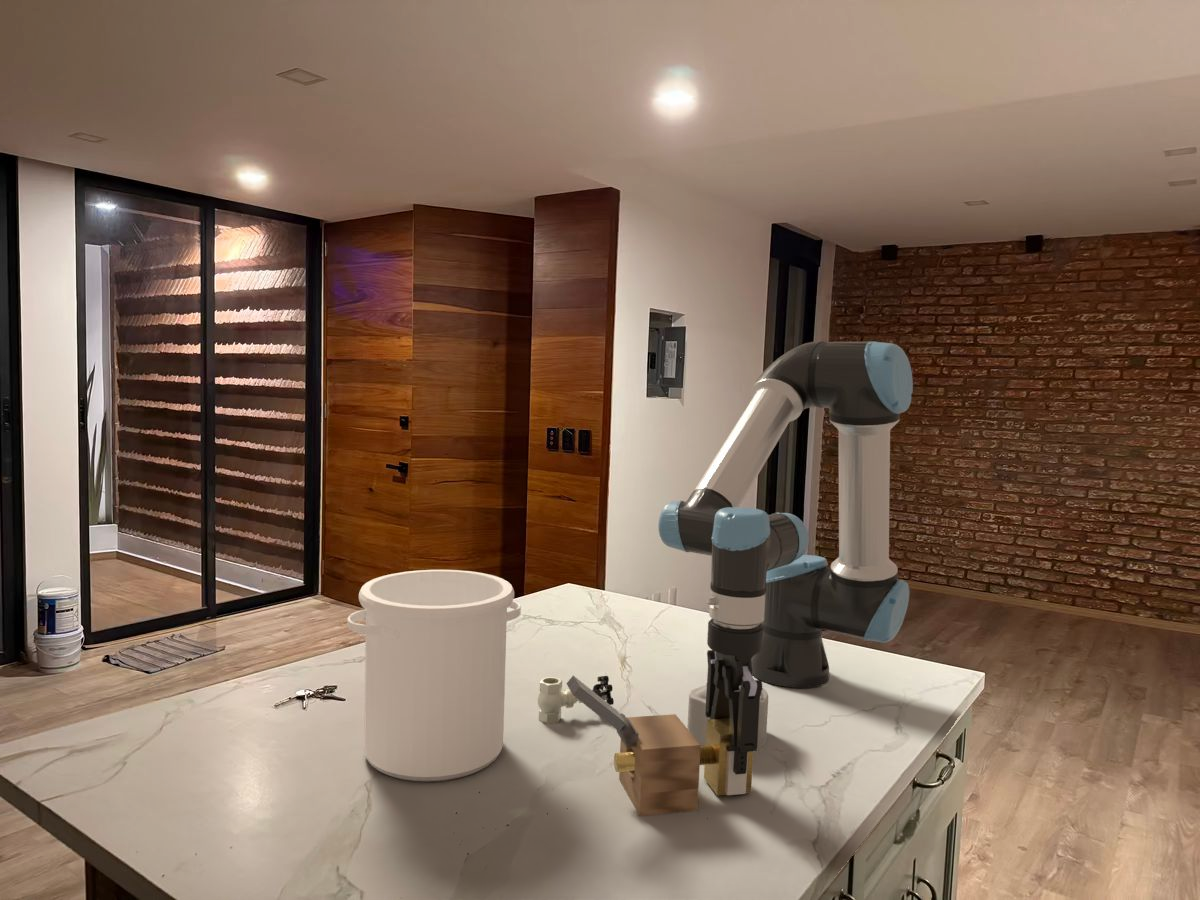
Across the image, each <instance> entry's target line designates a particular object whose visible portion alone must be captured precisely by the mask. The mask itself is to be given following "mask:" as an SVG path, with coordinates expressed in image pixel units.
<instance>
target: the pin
mask: <svg viewBox="0 0 1200 900" xmlns="http://www.w3.org/2000/svg"><path fill="white" fill-rule="evenodd" d="M726 746H731V736H730V718H723V719H709V720H707V728H706V746H701V748H700V766H704V768H703V769H704V770H703V779H704V780H705V782H706V783H707V784H708V786H709V787H710V788H711V789H712V791H713V792H714V794H715V795H716V796H728V795H727V794H726V793H725V786H726V767H727V750H726ZM753 761H754V751H750V752H748V761H747V778H746V794H747V793H752V782H753V765H754V762H753ZM613 765H614V771H615V772H616V773H619V772H624V771H634V770H635V753H634V752H624V753H620V752H616V753H614V756H613Z"/></svg>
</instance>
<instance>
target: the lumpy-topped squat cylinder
mask: <svg viewBox="0 0 1200 900" xmlns="http://www.w3.org/2000/svg"><path fill="white" fill-rule="evenodd" d="M738 691H740V690H737V691H735V692H738ZM706 693H707V682H706V684H705V685H702V686H700V687H697V688H694V689H692V690H690V692H689V695H688V709H687V725H686V726H687V727H686V728H687V729H688V730H689V731H690V733H691V734H692V735H693V736H694V738H695V739H696V740H697V741H698V742H699V744H700V745H701V746H706V728H707V720H709V719H710V718H707V717H706V715H705V710H706ZM768 711H769V694H768V692H767V690H766V689H765V688H763V687H762V691H761V695H760V703H759V722H758V742H757V749H759V748H761V747H763V745H764V744H765V742H766V739H767V726H768Z"/></svg>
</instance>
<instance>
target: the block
mask: <svg viewBox="0 0 1200 900" xmlns="http://www.w3.org/2000/svg"><path fill="white" fill-rule="evenodd" d="M619 714H620V715H621V717H622V718H623V720H624V721H625V723H626V724H625V725H624V726H623V728H622V729H621V730H620V731H617V730H616V733H617V735H618V736H619V738H620V747H619V748H620V749H619V750H620V751H619V753H624V752H634V753H635V770H634V771H624V772H618V780H619V781H620V783H621V785H622V787H623V790H625V792H626V795H627V796H628V798H629V800H630V801H631V803H632V805H633V807H634V809H635V811H636V813H637V814H638V816H639V817H643V816H653V815H661V814H662V815H663V814H664V815H665V814H672V813H683V812H684V813H685V812H693V811H694V812H696V811H698V803H699V786H700V783H699V781H700V780H699V779H700V766H701V765H700V748H701V745H700V744H699V742H698V741H697V740H696V739H695V738H694V736H693V735H692V734H691V733H690V731H689V730H688V729H687V727H686V726H687V725H685V724H684V723H683V722H682V720H681V719H680V718H679V717H678V716H677V714H675V713H674V714H673V713H672V714H671V713H670V714H661V715H660V714H659V715H645V716H643V715H642V716H629V717H626V715H625V714H624V713H622V712H621V713H620V712H619Z"/></svg>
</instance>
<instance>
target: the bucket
mask: <svg viewBox="0 0 1200 900" xmlns="http://www.w3.org/2000/svg"><path fill="white" fill-rule="evenodd" d="M514 598H515V590H514V587H513V586H512V584H511V583H510V582H509V581H507V580H505V579H504V578H502V577H499V576H497V575H494V574H488V573H483V572H477V571H470V570H461V569H459V570H458V569H425V570H424V569H421V570H420V569H419V570H412V571H411V570H409V571H403V572H402V571H401V572H397V573H396V572H395V573H391V574H387V575H382V576H379V577H376V578H373V579H371V580H369V581H366V582H365V583H364V584H363V585H362V586H361V588H360V589H359V593H358V601H359V603H360V605H361V607H362V608H364V609H361V610H358V611H357V610H356V611H355V612H352V613H350V614H349V615H348V617H347V626H346V627H347V629H348V630H350V631H352V632H354V633H355V634H360V635H364V636H365V649H364V652H365V654H364V655H365V657H364V658H365V659H364V725H363V726H364V727H363V728H364V729H363V731H364V732H363V733H364V734H363V741H364V742H363V751H364V755H365V757H366V760H367V762H368V763H369V764H370V766H371V767H373V769H375V770H377V771H379V772H380V773H382V774H384V775H387V776H388V777H392V778H395V779H399V780H404V781H411V782H425V783H426V782H429V783H431V782H442V781H448V780H456V779H460V778H464V777H467V776H469V775H473V774H474V773H477V772H479V771H481V770H483V769H485V768H487V767H488V766H489V765H491V764H493V763H494V761H496V760H497V758H498V757H499V755H500V754H501V751H502V748H503V746H504V729H505V728H504V726H505V725H504V724H505V694H506V693H505V692H506V691H505V689H506V687H505V686H506V658H507V657H506V656H507V654H506V652H507V648H506V647H507V624H508V623H507V622H508V621H509V622H510V621H512V620H515V619H517V618H519V617H520V616H521V613H522V608H521V607H522V606H521V604H520V603H519V602H517V601H515V600H514ZM509 608H510V609H512V610H510V611H508V609H509ZM364 619H365V624H362V623H356V622H358V621H360V620H364Z"/></svg>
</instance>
